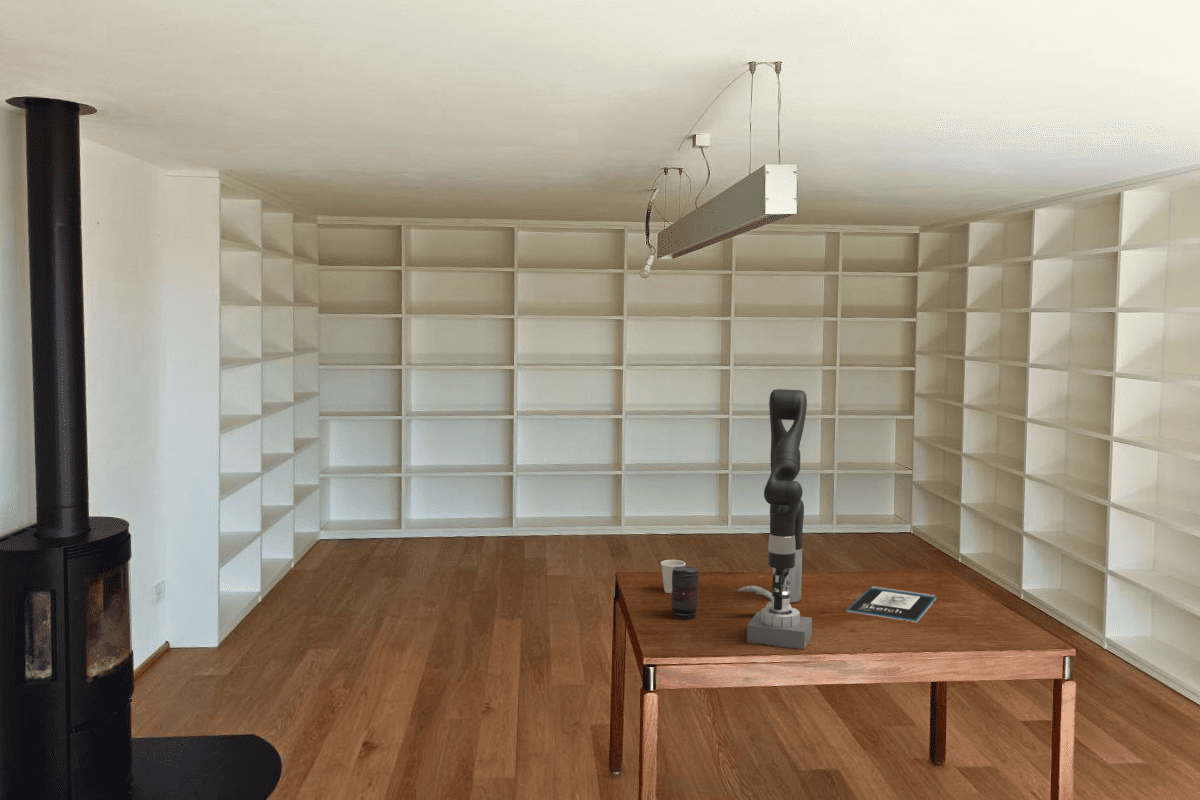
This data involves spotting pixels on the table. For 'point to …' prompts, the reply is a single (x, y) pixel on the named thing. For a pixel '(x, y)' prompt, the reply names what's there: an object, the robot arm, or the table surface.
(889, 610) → the sketchbook
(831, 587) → the table surface
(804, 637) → the grey socket base
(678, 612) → the camera lens
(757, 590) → the inkwell
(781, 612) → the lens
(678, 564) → the dixie cup
